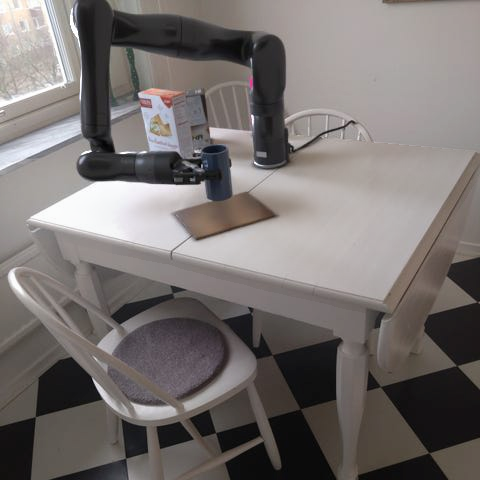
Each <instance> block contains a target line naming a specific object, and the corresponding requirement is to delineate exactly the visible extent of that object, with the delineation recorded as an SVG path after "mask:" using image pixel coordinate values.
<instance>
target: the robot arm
mask: <svg viewBox="0 0 480 480" xmlns="http://www.w3.org/2000/svg"><path fill="white" fill-rule="evenodd" d="M71 8H72V9H71V12H70V26H71V29H72V31H73V33H74V34H75V36H76V37H77V39H78V45H79V52H80V53H79V54H80V88H79V89H80V92H79V114H80V117H79V118H80V132H81V136H82V137H83V139H85V140H87V141H88V143H89V148H90V150H89V151H88V150H87V151H85V152H83V153H81V154H80V155H79V156H78V157H77V159H76V163H75V168H76V171H77V173H78V175H79V176H80V177H81V179H83V180H85V181H87V182H90V183H91V182H92V183H98V182H100V183H101V182H125V183H136V184H137V183H138V184H147V185H148V184H149V185H170V186H172V185H173V186H199V185H201V184H202V182H204V181H206V180H222V179H223V173H222V170H213V169H206V170H205V169H203V167H202V160H201V152H195V153H192V156H193V157H187V158H184V159H183V158H182V157H181V156H180V154H179V153H178V152H176V151H150V150H146V151H123V152H116V148H115V143H114V139H113V136H112V106H111V105H112V104H111V103H112V102H111V81H110V79H111V78H110V66H111V65H110V64H111V63H110V62H111V49H112V48H124V49H125V48H126V49H134V50H138V51H142V52H146V53H149V54H150V53H151V54H154V55H158V56H164V57H167V58H172V59H178V60H184V61H190V62H191V61H192V62H213V61H221V62H228V63H233V64H235V65H236V64H237V65H239V66H243V67H246V68H249V69H250V70H251V77H252V81H253V86H252V89H251V88H250V90H249V94H248V96H249V108H250V123H251V122H252V125H251V134H252V146H253V147H252V148H253V164H254V166H255V167H257V168H260V169H276V168H280V167H282V166H284V165H286V164H287V163H289V162H290V154H292V153H295V152H298V151H300V150H302V149H304V148H305V147H307V146H309V145H310V144H312V143H314V142H315V141H316V140H317V139H319V138H320V137H322V136H324V135H326V134H329V133H333V132H336V131H340V130H343V129H345V128H347V127H348V126H349V125H350V124H356V122H355V120H353V119H350V120H349V121H347V123H345V124H344V125H342V126H339V127H334V128H331V129H328V130H325V131H323V132H320V133H319V134H316V136H315V137H313V138H312V139H311V140H308V141H307V142H305V143H304V144H303V145H301V146H300V147H297V148H296V149H295V146H294V145H293V144H291V142H289V128H288V127H286V116H285V90H286V87H287V52H286V47H285V43H284V42H283V40H282V39H281V38H280V37H279V36H278V35H276V34H274V33H272V32H267V31H264V30H246V29H233V28H228V27H224V26H221V25H218V24H216V23H213V22H211V21H207V20H205V19H200V18H198V17H197V18H196V17H192V16H187V15H183V14H178V13H171V12H170V13H169V12H157V13H131V12H126V11H122V10H118V9H114V8H112V5H111V3H110V2H109V1H108V0H75V1H74V3H73V5H72V7H71ZM229 161H230V169H231V168H232V159H231V158H230V157H229ZM204 183H205V182H204Z"/></svg>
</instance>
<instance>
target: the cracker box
mask: <svg viewBox="0 0 480 480" xmlns="http://www.w3.org/2000/svg"><path fill="white" fill-rule="evenodd" d="M137 96H138V100H139V105H140V110H141V115H142V118H143V124H144V128H145V133H146V138H147V142H148V147H149V151H176V152H178V153H179V154H180V156H181V157H182V158H183V159H184V158H187V157H193V156H192V153H196V152H195V149H194V145H193V138H192V132H191V125H190V119H189V113H188V106H187V99H186V93H185V91H177V90H170V89H162V88H157V87H156V88H155V87H151V88H149V89H146V90H142V91H140V92H138V93H137Z"/></svg>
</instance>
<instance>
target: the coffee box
mask: <svg viewBox="0 0 480 480" xmlns="http://www.w3.org/2000/svg"><path fill="white" fill-rule="evenodd" d="M184 92H185V93H186V99H187V106H188V113H189V119H190V125H191V132H192V138H193V145H194V150H196V149H197V150H198V149H202V148H203V147H206V146H209V145H212V141H211V140H212V139H211V130H210V129H211V128H210V122H209V114H208V107H207V97H206V92H205V87H199V88H190V89H185V90H184Z"/></svg>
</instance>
